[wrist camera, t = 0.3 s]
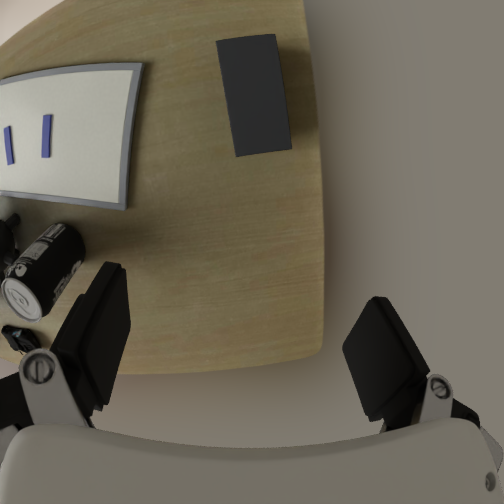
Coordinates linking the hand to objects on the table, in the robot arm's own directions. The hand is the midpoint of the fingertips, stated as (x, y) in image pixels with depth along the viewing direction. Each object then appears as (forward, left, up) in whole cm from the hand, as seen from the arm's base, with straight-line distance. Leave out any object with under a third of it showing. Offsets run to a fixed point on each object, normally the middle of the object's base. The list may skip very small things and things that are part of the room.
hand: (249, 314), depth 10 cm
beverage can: (+12, -20, -21) cm, 31 cm away
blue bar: (-1, -29, -20) cm, 35 cm away
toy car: (+37, -38, -21) cm, 57 cm away
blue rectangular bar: (-2, -22, -20) cm, 30 cm away
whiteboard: (-2, -22, -20) cm, 30 cm away
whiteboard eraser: (-8, 0, -20) cm, 22 cm away
